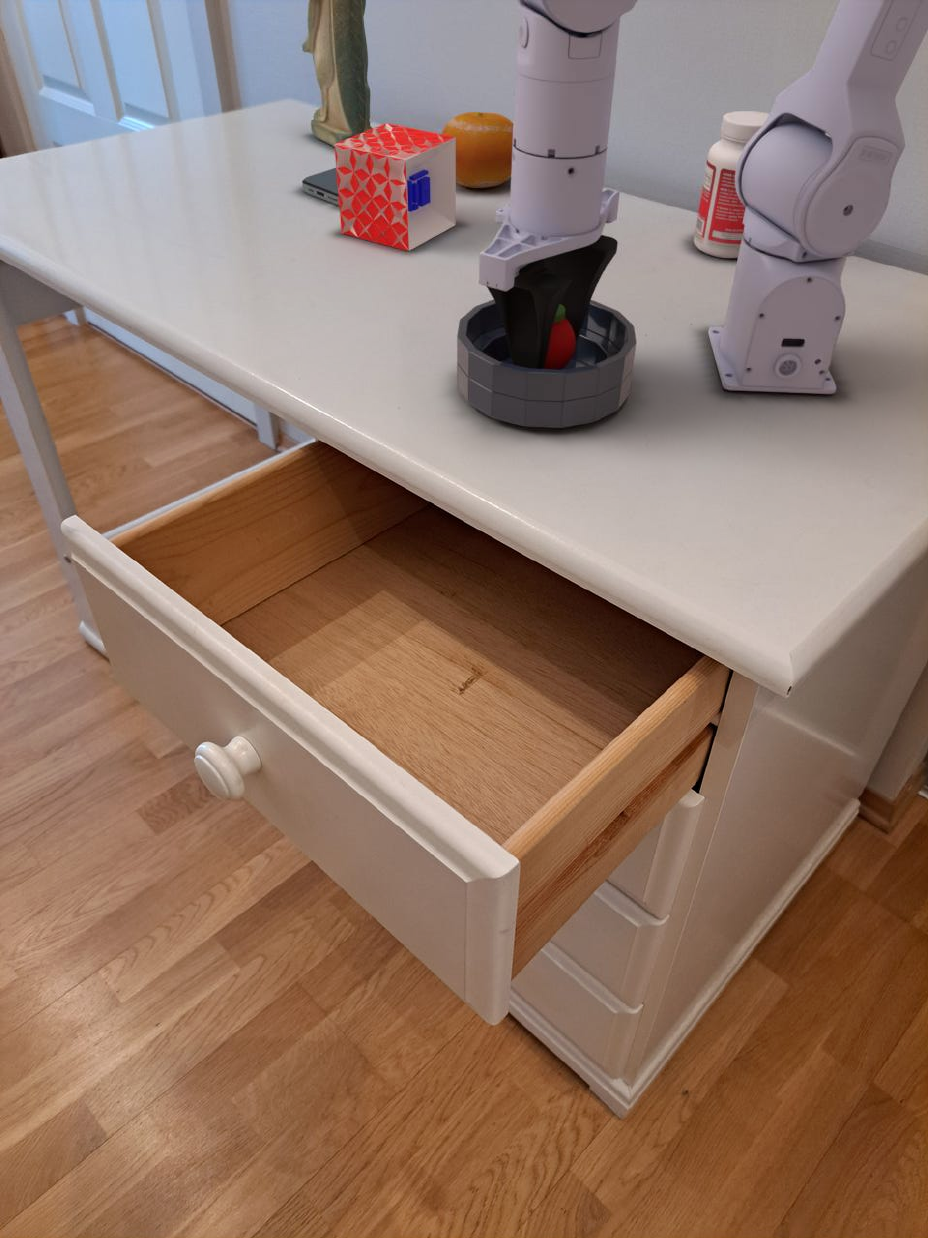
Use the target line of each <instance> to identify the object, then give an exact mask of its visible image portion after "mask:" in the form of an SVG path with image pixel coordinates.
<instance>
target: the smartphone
mask: <svg viewBox="0 0 928 1238" xmlns="http://www.w3.org/2000/svg"><path fill="white" fill-rule="evenodd" d="M301 185H302V190H303V191H304V192H305V193H306V194H308V195H311V196H313V197H315V198H318V199H321V200H323V201H325V202H327V203H329V204H332V205H336V206H338V207H339V196H338V184H337V172H336V167H333V168H331V169H327V170H324V171H321V172H318V173H316V174H312V175H309V176H306V177H305V178H304V179H303V180H302V181H301Z"/></svg>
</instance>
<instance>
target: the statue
mask: <svg viewBox="0 0 928 1238" xmlns="http://www.w3.org/2000/svg"><path fill="white" fill-rule="evenodd" d="M366 7H367V0H308V6H307V19H306V21H307V36H306V39H305V41H304V42H303V43H302V44H301V45H302V52H304V53H308V54H311V55H312V59H313V65H314V69H315V70H314V71H315V75H316V76H315V77H316V80H317V84H318V87H319V91H320V98H321V107H320V108H318V109H316V110H315V112H314V113H313V119H312V120H311V122H310V127H311V130H312V134H313V136H314V137H316V138H317V139H318V140H320V141H322V142H324V143H326V144H328V145H330V146H332V147H333V148H335V146H334V144H336V143H338V142H341V141H343V140H346V139H348V138H351V137H353V136H356V135H358V134H361V133H363V132H366V131H368V130H371V129H373V128H374V127H372V126H371V121H370V120H371V88H370V86H369V82H368V70H369V51H368V50H369V49H368V43H367V36H366V35H367V34H366V29H365V18H364V17H365V12H366Z"/></svg>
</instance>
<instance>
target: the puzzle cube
mask: <svg viewBox="0 0 928 1238" xmlns="http://www.w3.org/2000/svg"><path fill="white" fill-rule="evenodd" d="M372 128H373V129H371V130H368V131H366V132H363V133H361V134H358V135H356V136H353V137H351V138H348V139H346V140H343V141H341V142H338V143H336V144H334V146H335V147H334V157H335V158H334V159H335V168H336V172H337V184H338V196H339V206H338V207H339V208H338V209H339V218H340V230H341V231H340V233H341V234H343V235H346V236H349V237H354V238H358V239H362V240H365V241H369V242H373V243H375V244H376V243H377V244H380V245H385V246H388V247H391V248H395V249H399V250H403V251H406V252H410V251H412V250H413V249H415V248H417V247H419V246H421V245H423V244H424V243H427V242H428V241H430V240H431V239H433V238H436V237H437V236H438V235H440V234H442V233H444V232H445V231H447V230H450V229H452V228H453V227H455V226H456V225H457V212H456V211H457V209H456V208H457V205H456V203H457V201H456V199H457V198H456V197H457V196H456V193H457V189H456V186H457V185H456V184H457V183H456V137H452V136H447V135H442V133H437V132H432V131H427V130H422V129H417V128H412V127H409V126H402V125H397V124H392V123H384V124H381V125H379V126H378V125H377V126H376V127H372Z"/></svg>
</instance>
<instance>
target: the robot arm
mask: <svg viewBox="0 0 928 1238" xmlns="http://www.w3.org/2000/svg"><path fill="white" fill-rule="evenodd" d="M637 2H638V0H517V3H518V18H517V19H518V22H517V42H516V43H517V45H516V46H517V48H516V55H515V67H514V69H515V71H514V91H513V92H514V94H513V95H514V97H513V98H514V99H513V118H512V119H513V120H512V123H513V144H512V172H511V176H510V196H509V197H510V201H509V203H506V204H504V205H503V206H501V207H499V208H497V209H496V210H495V213H494V218H495V219H494V220H495V222H496V223H497V224H500V225H501V226H500V228H499V229H498V231H497V232H496V234H495V236H494V238H493V240H492V241H491V243H490V244H489V245H488V246H487V247H486V248H485V249H483V250H482V251H480V252H479V255H478V256H479V259H478V285H481V286H485V287H486V288H487V289H488V291H489V293H490V295H491V297H492V300H494V301H495V303H496V305H497V307H498V310H499V312H500V315H501V318H502V321H503V325H504V329H505V332H506V337H507V341H508V346H509V351H510V355H511V359H512V363H513V365H517V366H521V367H525V368H529V369H543V366H544V364H545V361H546V358H547V353H548V348H549V342H550V337H551V331H552V326H553V322H554V319H555V315H556V313H557V310H558V307H559V304H561V305H563V306H564V307H565V310H566V311H565V318H566V319H567V320H568V321H569V323H570V324H571V326H572V328H573V330H574V333H575V339H576V340H577V338H578V335H579V333H580V330H581V327H582V324H583V321H584V318H585V315H586V312H587V309H588V306H589V303H590V301H591V300H592V297H593V295H594V293H595V290H596V289H597V287H598V284H599V282H600V280H601V278H602V276H603V274H604V272H605V271H606V269H607V267H608V266H609V264H610V263H611V261H612V260H613V258H614V257H615V255H616V254H617V252H618V244H619V243H618V240H617V239H616V238H614V237H611V236H608V235H603V231H604V228H605V225H606V224H613V222H615V221H616V220H617V218H618V211H619V203H620V202H619V201H620V195H621V191H620V190H616V189H614V188H613V189H612V188H609V187H604V181H605V173H606V165H607V156H608V145H609V133H610V126H611V125H610V124H611V114H612V107H613V106H612V105H613V98H614V97H613V95H614V86H615V77H616V67H617V53H618V45H619V35H620V23H621V17H622V16H624V15H625V14H627V13H629V12H631V11H632V10H633V9H634V8H635V6H636V4H637ZM827 29H828V30H827V32H826V34H825V37H824V39H823V42H822V43H821V46H820V49H819V51H818V53H817V56H816V58H815V60H814V62H813V65H812V67H811V69H810V70H809V71H807V72H806V73H805V74H804V75H803V76H801V77H799V78H798V79H797V80H795V81H794V82H793V83H791V84H790V85H788V86H787V87H786V88H784V89H783V90H782V91H781V92H779V93H778V94H777V96H776V98H775V101H774V103H773V106H772V108H771V110H770V112H769V113H768V114H769V116H768V118H767V119H766V121H765V122H764V124H763V125H762V126H761V128H760V129H759V130H758V131H757V132H756V133H755V134H754V135H753V137H752V138H751V139H750V140H749V141H748V143H747V144H746V146H745V147H744V149H743V151H742V153H741V155H740V158H739V160H738V163H737V167H736V172H735V188H736V192H737V195H738V197H739V199H740V201H741V202H742V204H743V205H744V206H745V207H746V209H745V213H744V218H743V224H744V225H745V227H744V232H743V236H742V241H741V246H740V251H739V255H738V258H737V261H736V265H735V270H734V275H733V279H732V284H731V289H730V294H729V298H728V304H727V309H726V313H725V317H724V318H725V319H724V323H723V326H717V325H716V326H710V327H709V328H708V331H707V334H708V335H707V336H708V338H709V342H710V345H711V348H712V352H713V356H714V359H715V363H716V367H717V370H718V374H719V377H720V381H721V384H722V387H723V388H724V389H725V390H727V391H739V392H741V391H742V392H763V393H764V392H765V393H767V392H768V393H769V392H770V393H793V394H819V395H832V394H835V393H836V392H837V388H838V387H837V384H836V382H835V380H834V378H833V376H832V374H831V371H830V366H831V363H832V359H833V356H834V353H835V351H836V346H837V342H838V339H839V336H840V333H841V329H842V326H843V322H844V320H845V316H846V299H845V298H846V297H845V295H844V292H843V289H842V288H843V287H842V286H841V285H842V283H841V280H842V279H841V278H842V275H843V272H844V269H845V265H846V261H847V258H849V257H853V256H854V254H855V250H856V248H858V247H859V246H860V245H862V244H863V243H864V242H865V241H866V240H867V239H868V238H870V236H871V235H872V234H873V232H874V231H875V230H876V228H877V227H878V226H879V224H880V223H881V221H882V219H883V217H884V215H885V213H886V211H887V209H888V205H889V202H890V197H891V190H892V189H891V188H892V182H893V177H894V173H895V169H896V167H897V165H898V163H899V161H900V158H901V157H902V155H903V152H904V150H905V149H906V139H905V135H904V132H903V127H902V123H901V120H900V115H899V112H898V107H897V101H896V97H897V95H898V93H899V91H900V89H901V86H902V84H903V82H904V80H905V78H906V76H907V74H908V72H909V70H910V68H911V65H912V64H913V61H914V60H915V57H916V55H917V54H918V51H919V49H920V47H921V45H922V43H923V41H924V39H925V36H926V34H927V32H928V0H840V1H839V4H838V6H837V9H836V10H835V13H834V16H833V17H832V20H831V22H830V25H829V27H828V28H827ZM827 134H828V135H827Z"/></svg>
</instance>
